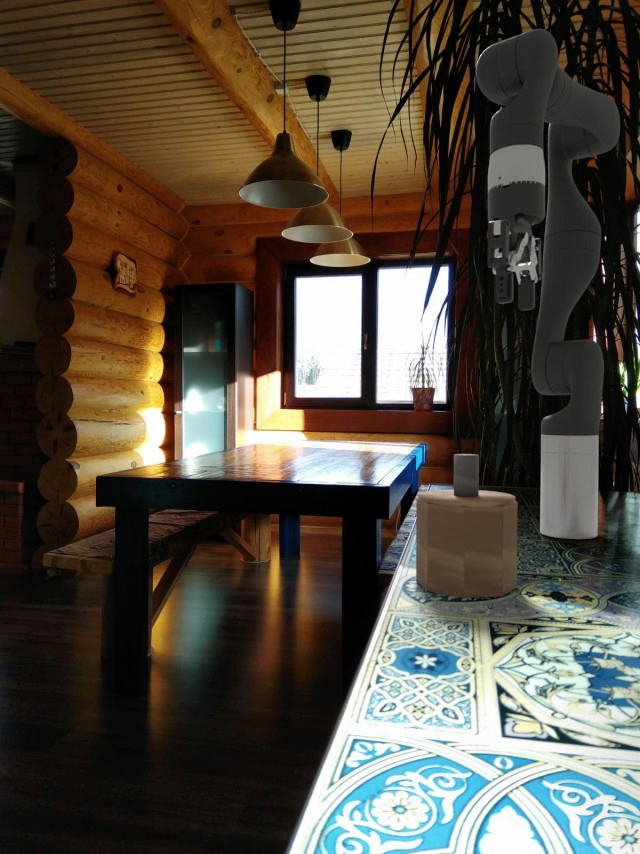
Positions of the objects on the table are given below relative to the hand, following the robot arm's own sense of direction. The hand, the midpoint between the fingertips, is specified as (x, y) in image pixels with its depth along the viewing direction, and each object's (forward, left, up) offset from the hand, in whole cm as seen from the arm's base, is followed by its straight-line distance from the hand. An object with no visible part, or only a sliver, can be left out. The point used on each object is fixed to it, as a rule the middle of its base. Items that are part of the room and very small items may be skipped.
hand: (515, 306), depth 89 cm
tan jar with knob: (+14, -1, -36) cm, 38 cm away
